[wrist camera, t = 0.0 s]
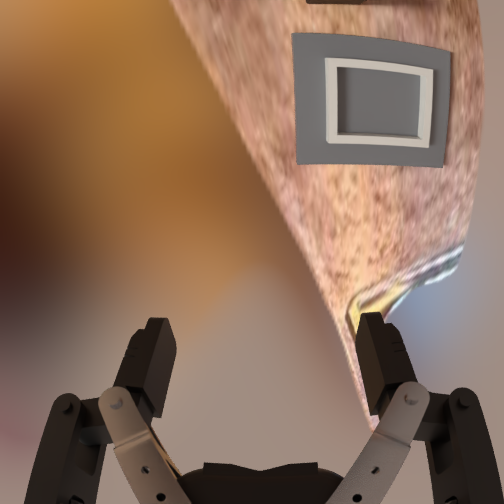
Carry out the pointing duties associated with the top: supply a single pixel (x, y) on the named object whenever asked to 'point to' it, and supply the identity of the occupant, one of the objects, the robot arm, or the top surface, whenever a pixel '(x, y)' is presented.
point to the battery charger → (335, 1)
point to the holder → (369, 101)
